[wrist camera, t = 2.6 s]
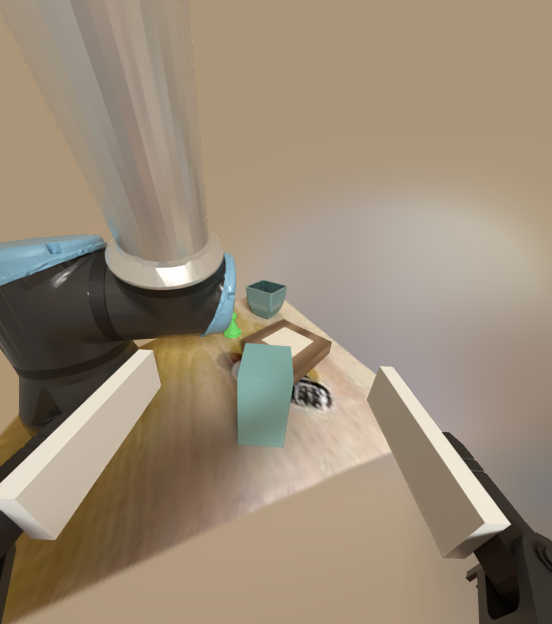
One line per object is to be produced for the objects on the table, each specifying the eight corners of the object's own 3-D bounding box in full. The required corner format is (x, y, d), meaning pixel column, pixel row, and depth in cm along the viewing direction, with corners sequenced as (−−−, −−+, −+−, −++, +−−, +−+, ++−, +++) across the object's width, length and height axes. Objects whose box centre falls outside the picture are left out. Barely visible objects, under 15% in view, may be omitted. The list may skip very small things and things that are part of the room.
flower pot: (244, 314, 59) (244, 286, 55) (261, 305, 66) (263, 279, 62) (269, 324, 55) (271, 294, 52) (284, 313, 62) (287, 286, 58)
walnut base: (241, 351, 44) (241, 339, 42) (281, 329, 54) (283, 318, 52) (293, 386, 36) (295, 373, 35) (329, 352, 46) (332, 341, 44)
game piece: (220, 332, 50) (219, 310, 47) (235, 327, 53) (234, 306, 50) (229, 340, 47) (228, 318, 45) (244, 334, 50) (244, 313, 47)
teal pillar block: (237, 444, 26) (237, 376, 21) (244, 405, 32) (245, 343, 27) (282, 447, 27) (293, 380, 21) (282, 407, 32) (290, 346, 27)
